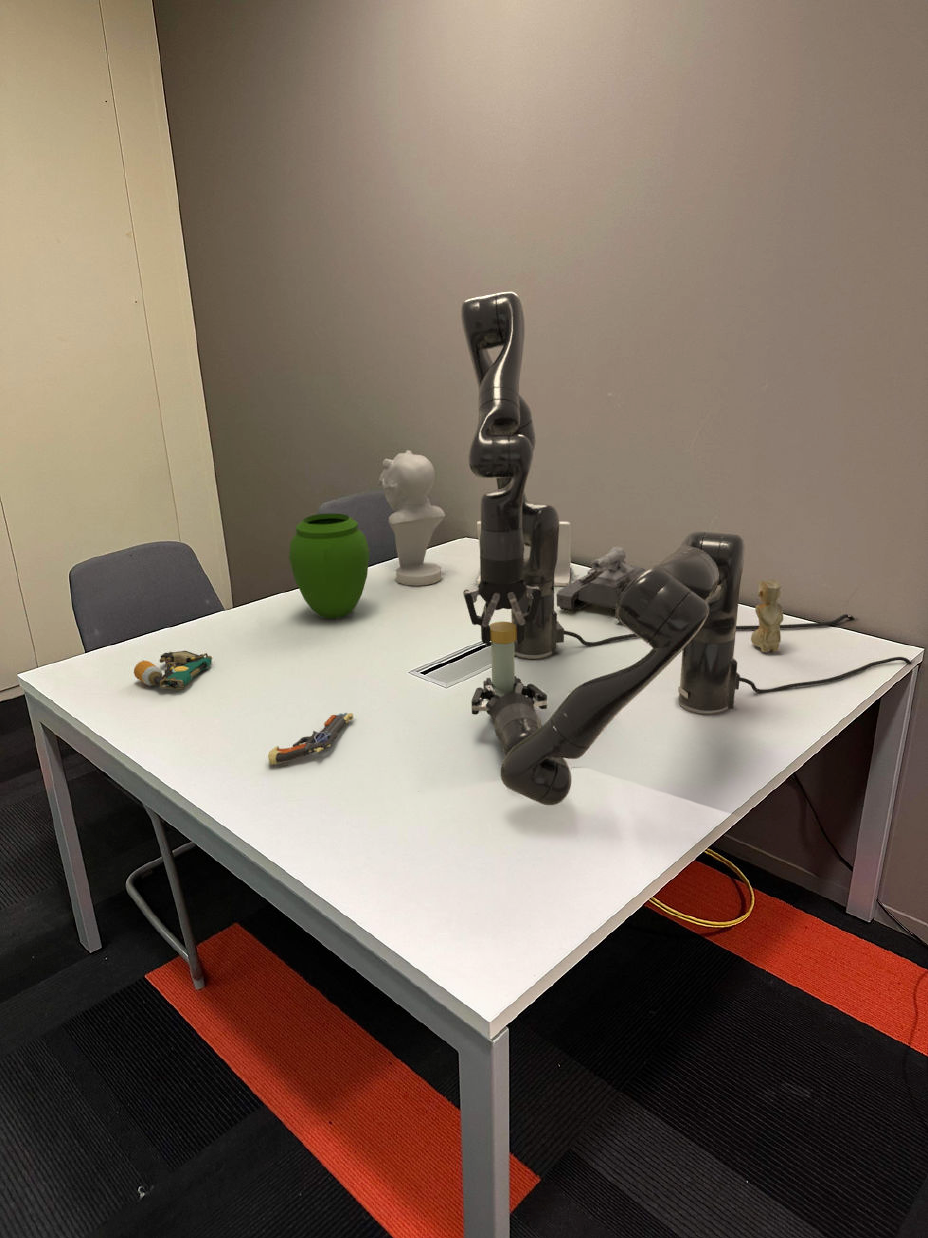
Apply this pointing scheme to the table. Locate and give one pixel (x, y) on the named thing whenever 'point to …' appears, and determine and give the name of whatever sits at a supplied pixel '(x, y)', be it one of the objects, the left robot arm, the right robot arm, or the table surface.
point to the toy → (599, 583)
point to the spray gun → (172, 669)
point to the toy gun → (312, 740)
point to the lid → (503, 632)
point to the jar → (503, 667)
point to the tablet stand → (562, 560)
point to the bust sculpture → (412, 515)
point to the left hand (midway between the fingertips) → (502, 643)
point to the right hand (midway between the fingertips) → (500, 681)
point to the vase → (329, 563)
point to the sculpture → (768, 617)
